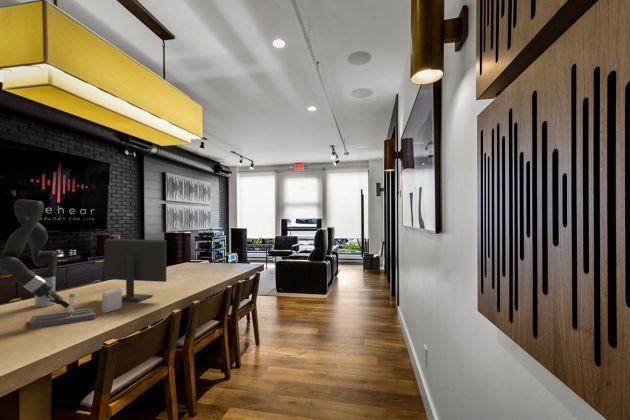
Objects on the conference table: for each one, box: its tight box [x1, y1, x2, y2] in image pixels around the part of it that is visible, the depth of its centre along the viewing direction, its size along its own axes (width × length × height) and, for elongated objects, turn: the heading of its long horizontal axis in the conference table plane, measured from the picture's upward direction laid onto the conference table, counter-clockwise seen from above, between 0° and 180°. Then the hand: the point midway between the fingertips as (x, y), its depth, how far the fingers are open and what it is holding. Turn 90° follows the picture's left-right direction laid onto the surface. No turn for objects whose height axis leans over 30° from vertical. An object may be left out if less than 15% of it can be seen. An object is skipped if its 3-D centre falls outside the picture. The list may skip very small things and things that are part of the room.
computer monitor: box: [103, 238, 168, 303], centre depth 208 cm, size 44×16×40 cm, turn 84°
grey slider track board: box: [28, 307, 96, 330], centre depth 163 cm, size 16×26×4 cm, turn 130°
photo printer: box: [101, 288, 123, 314], centre depth 181 cm, size 10×4×12 cm, turn 156°
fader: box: [67, 293, 76, 313], centre depth 165 cm, size 4×3×10 cm
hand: (67, 306), depth 164 cm, fingers closed
